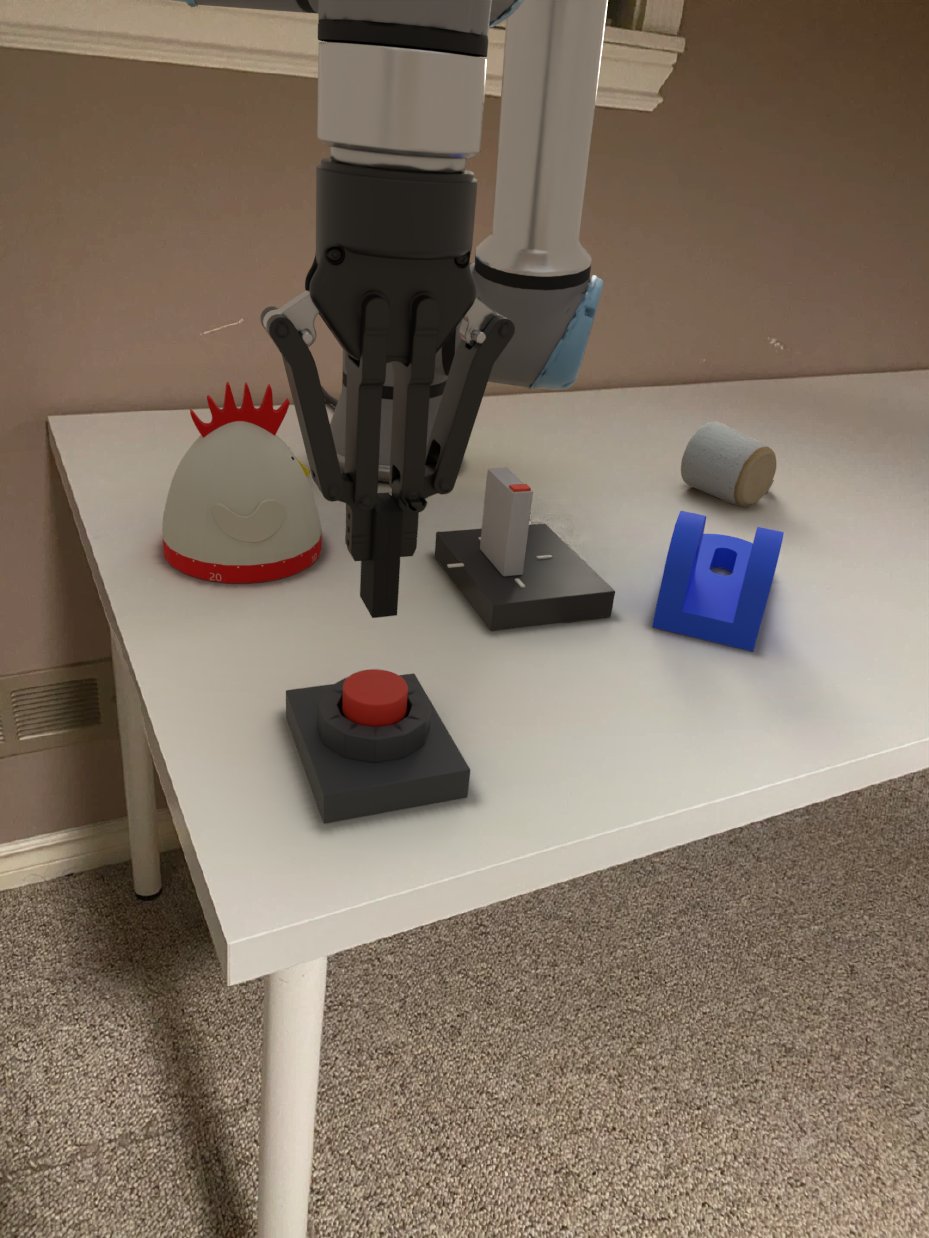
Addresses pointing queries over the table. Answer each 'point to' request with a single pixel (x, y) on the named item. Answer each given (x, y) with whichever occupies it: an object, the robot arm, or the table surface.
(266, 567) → the kitchen timer
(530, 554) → the panel
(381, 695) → the stop button
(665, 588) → the bracket
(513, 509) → the grey upright block
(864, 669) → the table surface
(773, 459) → the wooden log
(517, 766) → the table surface
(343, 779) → the stop housing
